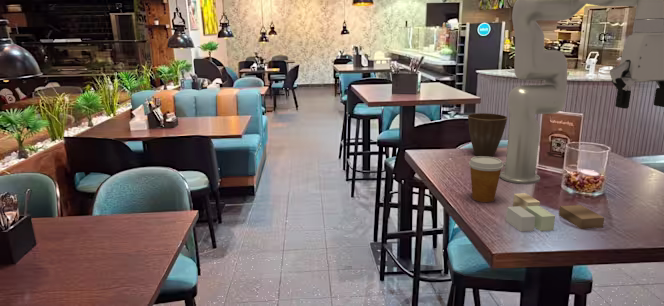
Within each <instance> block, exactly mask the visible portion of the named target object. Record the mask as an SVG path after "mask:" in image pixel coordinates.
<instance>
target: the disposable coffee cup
mask: <svg viewBox="0 0 664 306" xmlns="http://www.w3.org/2000/svg"><path fill="white" fill-rule="evenodd" d="M468 165H469V167H470V181H471V183H470V185H471V197H472V199H473V200H475V201H477V202H481V203H491V201H492V202H494V201H495V198H496V194H497V189H498V185H499V180H500V173H501V172H502V169H503V167H504V166H503V160H501V159H500V158H497V157H494V156H492V157H487V156H473V157H471V158H470V160H469V162H468Z"/></svg>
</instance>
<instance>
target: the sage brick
mask: <svg viewBox="0 0 664 306" xmlns="http://www.w3.org/2000/svg"><path fill="white" fill-rule="evenodd" d="M526 211H528V212H529V213H531V214H532V215H534V216H535V224H534V229H537V230H538V231H539V232H548V231H554V229H555V221H556V215H555V214H553V213H552V212H549V211H548V210H547V209H545V208H543V207H542V206H527V207H526Z"/></svg>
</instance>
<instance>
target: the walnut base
mask: <svg viewBox="0 0 664 306" xmlns="http://www.w3.org/2000/svg"><path fill="white" fill-rule="evenodd" d="M558 212H559V213H558V215H559V217H561V218H563V219H564V220H566V221H568V222H569V223H571V224H572V225H574V226H575V227H577V228H578V229H580V230H582V229H583V230H584V229H585V230H586V229H600V228H604V222H605V217H604V216H602V215H600V214H599V213H597V212H595V211H592V209H589V208H588V207H585V206H584V205H582V204H575V205H574V204H573V205H571V204H570V205H560V206H559V211H558Z"/></svg>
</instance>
